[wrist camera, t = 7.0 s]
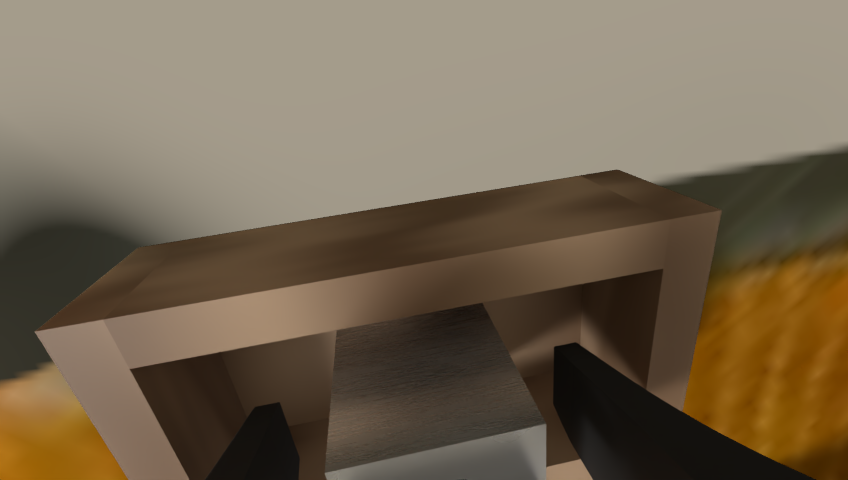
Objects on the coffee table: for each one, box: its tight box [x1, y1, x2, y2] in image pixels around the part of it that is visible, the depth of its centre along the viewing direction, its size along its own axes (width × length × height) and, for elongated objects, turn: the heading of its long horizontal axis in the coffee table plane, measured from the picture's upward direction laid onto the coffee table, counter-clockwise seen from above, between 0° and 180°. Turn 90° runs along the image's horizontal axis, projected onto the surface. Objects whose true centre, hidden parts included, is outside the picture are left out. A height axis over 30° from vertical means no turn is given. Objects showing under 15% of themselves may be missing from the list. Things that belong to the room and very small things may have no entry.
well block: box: [35, 170, 722, 480], centre depth 12 cm, size 14×8×4 cm, turn 97°
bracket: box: [325, 303, 546, 480], centre depth 10 cm, size 4×4×7 cm
